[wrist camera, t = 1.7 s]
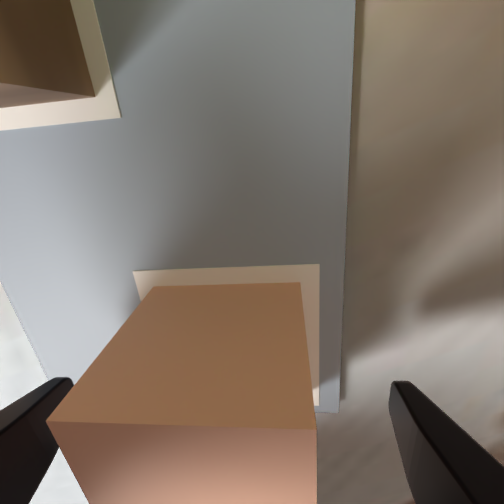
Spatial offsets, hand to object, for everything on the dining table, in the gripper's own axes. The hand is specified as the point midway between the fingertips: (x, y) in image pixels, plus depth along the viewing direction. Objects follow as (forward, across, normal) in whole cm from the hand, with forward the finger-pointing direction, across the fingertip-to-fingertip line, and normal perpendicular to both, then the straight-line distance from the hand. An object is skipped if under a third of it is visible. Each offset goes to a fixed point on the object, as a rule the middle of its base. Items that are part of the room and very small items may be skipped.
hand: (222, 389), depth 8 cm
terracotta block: (+2, 0, 0) cm, 2 cm away
